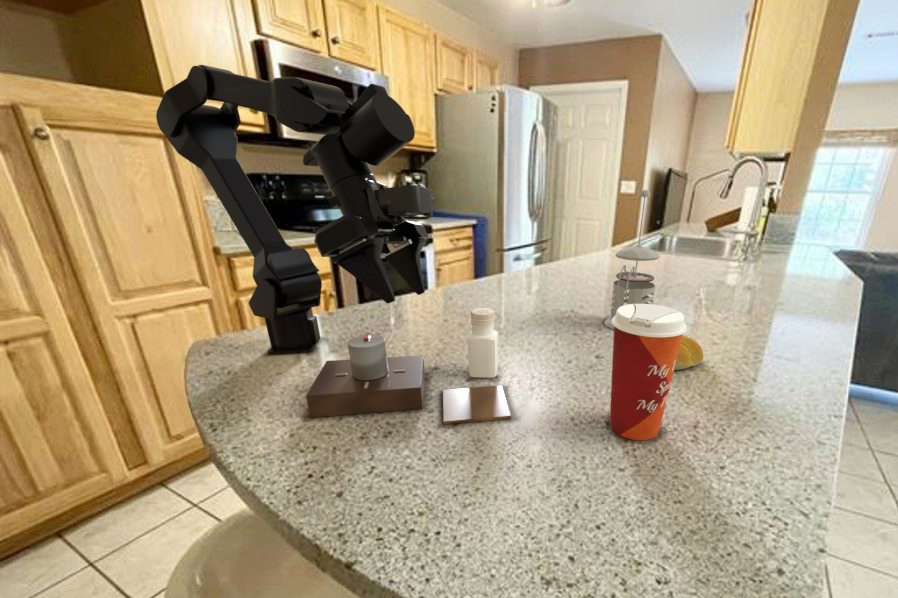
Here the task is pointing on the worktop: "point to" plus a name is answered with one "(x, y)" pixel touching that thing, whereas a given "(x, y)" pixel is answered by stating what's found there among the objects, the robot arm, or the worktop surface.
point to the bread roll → (688, 354)
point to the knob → (368, 357)
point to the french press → (633, 276)
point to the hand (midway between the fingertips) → (407, 297)
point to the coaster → (474, 404)
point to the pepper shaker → (483, 344)
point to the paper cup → (643, 367)
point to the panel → (367, 389)
